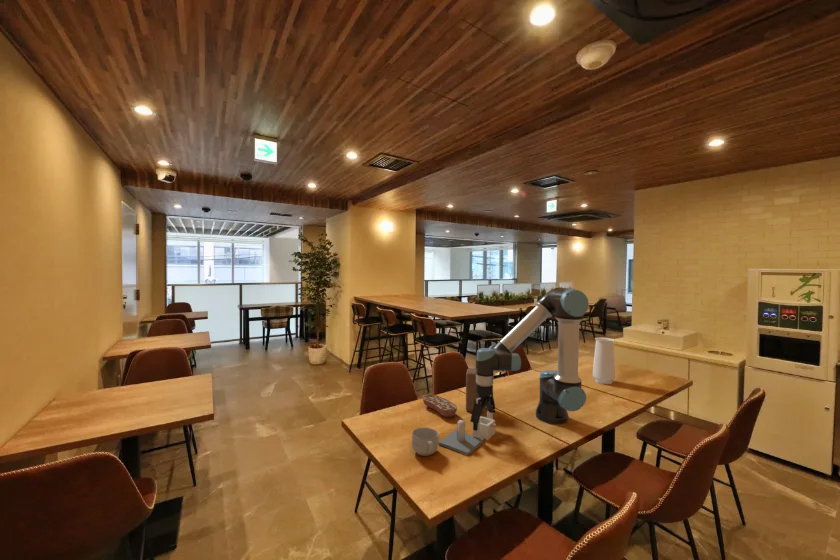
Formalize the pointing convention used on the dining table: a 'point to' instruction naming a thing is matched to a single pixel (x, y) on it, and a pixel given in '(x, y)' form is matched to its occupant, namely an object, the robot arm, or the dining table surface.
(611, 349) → the vase
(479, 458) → the dining table surface
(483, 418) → the white square sleeve
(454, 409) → the anatomical model
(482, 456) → the dining table surface
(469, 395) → the wooden block
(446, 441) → the board
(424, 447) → the teacup
